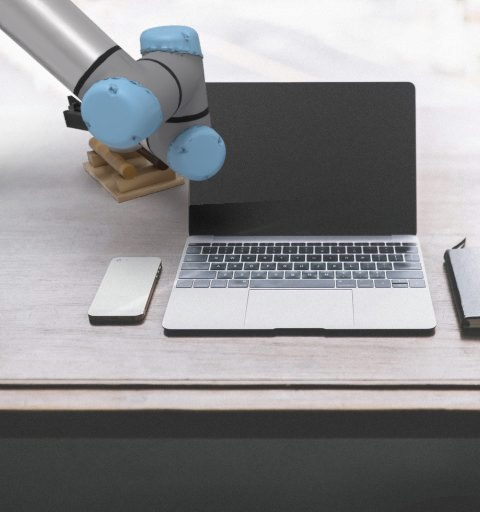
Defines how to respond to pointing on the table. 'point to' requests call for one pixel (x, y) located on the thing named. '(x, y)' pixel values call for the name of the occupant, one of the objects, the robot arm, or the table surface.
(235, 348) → the table surface
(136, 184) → the rod rack
